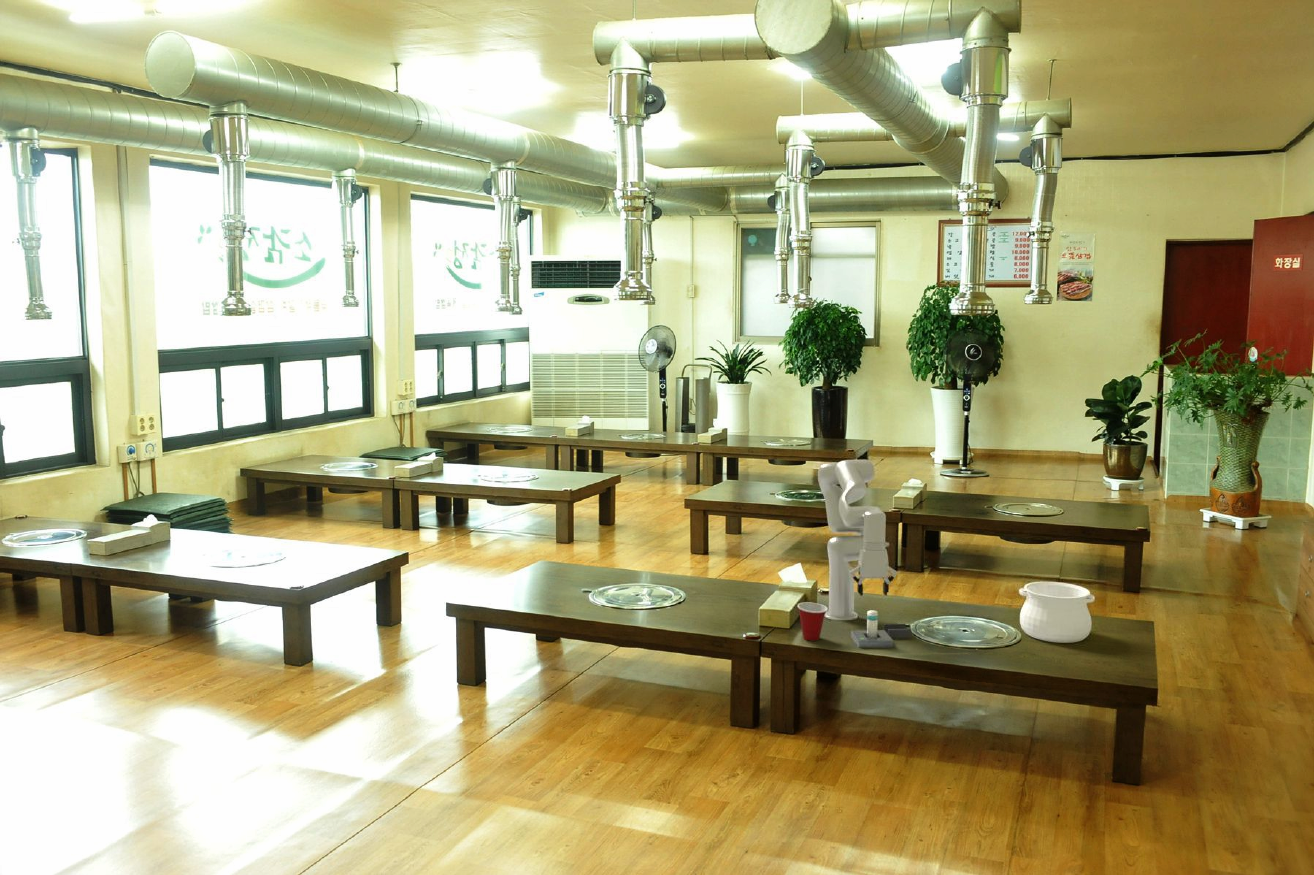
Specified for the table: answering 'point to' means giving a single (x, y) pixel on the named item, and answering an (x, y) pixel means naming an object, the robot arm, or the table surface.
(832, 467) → the robot arm
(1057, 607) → the pot
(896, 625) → the holster
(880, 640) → the port
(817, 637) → the plastic cup
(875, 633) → the white cylinder
